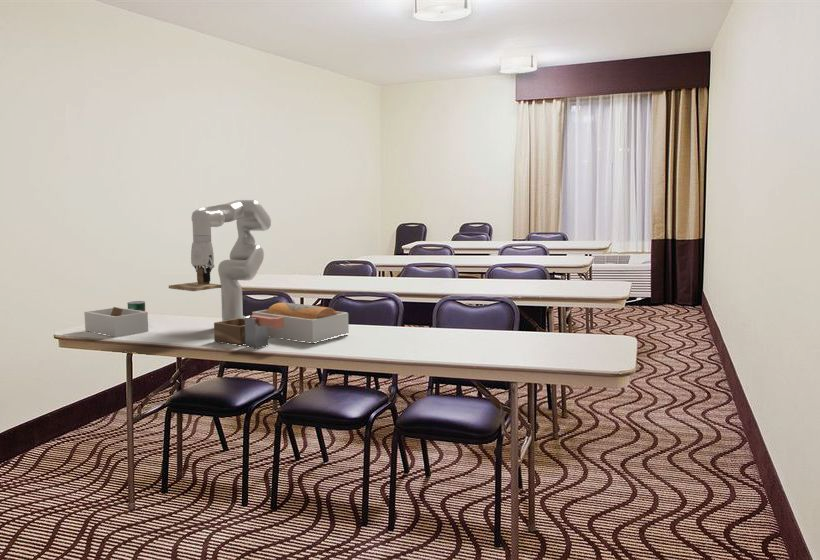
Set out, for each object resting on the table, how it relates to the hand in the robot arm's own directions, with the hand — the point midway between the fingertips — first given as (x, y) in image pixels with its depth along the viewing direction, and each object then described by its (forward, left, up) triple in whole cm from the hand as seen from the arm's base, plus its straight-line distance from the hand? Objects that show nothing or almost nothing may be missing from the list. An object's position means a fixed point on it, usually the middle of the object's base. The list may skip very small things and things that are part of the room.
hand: (203, 281), depth 294 cm
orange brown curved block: (-26, +34, -25) cm, 49 cm away
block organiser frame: (+16, -42, -24) cm, 51 cm away
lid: (+5, 0, -2) cm, 5 cm away
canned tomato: (+1, -49, -25) cm, 55 cm away
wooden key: (+2, +40, -15) cm, 42 cm away
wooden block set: (+14, -43, -25) cm, 52 cm away
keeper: (+2, +34, -24) cm, 42 cm away
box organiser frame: (-26, +32, -24) cm, 48 cm away
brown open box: (-2, +20, -24) cm, 32 cm away
